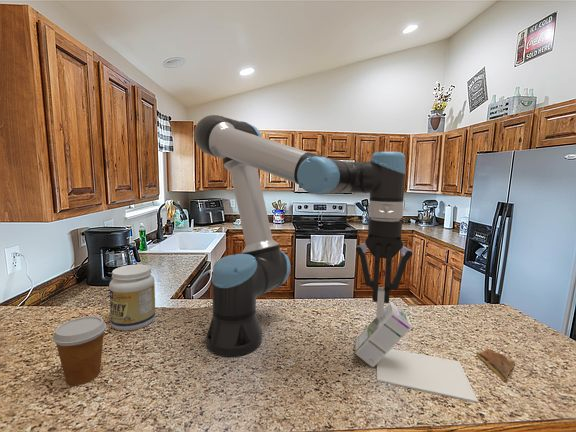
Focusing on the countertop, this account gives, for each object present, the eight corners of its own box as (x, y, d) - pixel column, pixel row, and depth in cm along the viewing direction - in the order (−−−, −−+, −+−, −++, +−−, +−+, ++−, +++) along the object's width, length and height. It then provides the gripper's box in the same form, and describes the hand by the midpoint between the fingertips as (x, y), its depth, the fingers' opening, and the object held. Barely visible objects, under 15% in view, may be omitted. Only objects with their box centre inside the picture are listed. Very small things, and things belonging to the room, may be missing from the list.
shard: (504, 384, 66) (505, 377, 65) (467, 367, 71) (468, 361, 71) (516, 366, 73) (516, 359, 72) (481, 352, 78) (481, 345, 78)
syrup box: (373, 368, 69) (414, 327, 66) (353, 352, 70) (393, 311, 66) (371, 354, 75) (409, 315, 71) (353, 339, 75) (389, 300, 72)
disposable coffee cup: (67, 398, 58) (63, 342, 56) (48, 379, 63) (44, 328, 61) (116, 372, 66) (114, 322, 64) (96, 357, 71) (93, 311, 69)
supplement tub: (101, 326, 85) (98, 271, 83) (136, 310, 96) (134, 261, 94) (130, 336, 81) (128, 278, 79) (164, 317, 92) (162, 266, 90)
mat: (376, 381, 65) (377, 379, 65) (376, 347, 78) (376, 346, 78) (477, 403, 59) (478, 401, 59) (459, 362, 72) (459, 361, 72)
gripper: (355, 219, 66) (351, 317, 68) (417, 222, 62) (410, 326, 65) (357, 216, 73) (353, 304, 75) (413, 218, 69) (406, 312, 72)
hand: (379, 314), depth 70 cm, fingers closed
